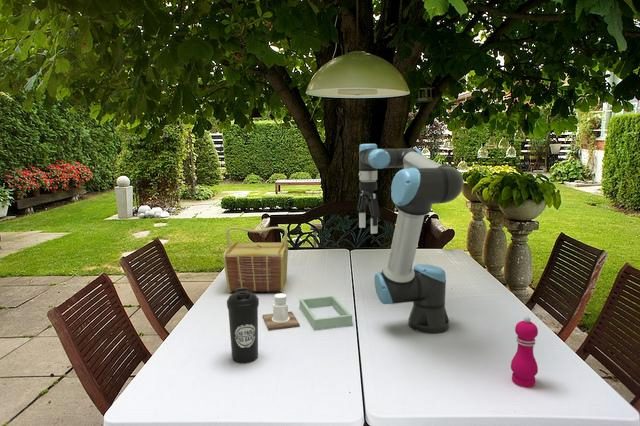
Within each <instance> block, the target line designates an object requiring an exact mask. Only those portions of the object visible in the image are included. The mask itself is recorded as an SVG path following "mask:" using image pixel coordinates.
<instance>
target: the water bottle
mask: <svg viewBox="0 0 640 426" xmlns="http://www.w3.org/2000/svg"><path fill="white" fill-rule="evenodd" d="M259 304H260V303H259V297H258V296H257V295H256V294H255V292H249V291H248V289H247V287H241V288H236V292H233V293H232V294H231V295H229V296H228V298H227V300H226V308H227V310H228V322H229V333H230V334H229V335H230V336H229V337H230V347H231V360H232V361H233V362H235V363H237V364H249V363H252V362H254V361H257V359H258V357H259V318H258V317H259V316H258V315H259V310H258V309H259V306H260V305H259Z"/></svg>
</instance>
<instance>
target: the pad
mask: <svg viewBox="0 0 640 426" xmlns="http://www.w3.org/2000/svg"><path fill="white" fill-rule="evenodd" d="M272 317H273V313H266V314H262V319H263V321H264V323H265V325H266V328H267V330H268V331H277V330H284V329H292V328H299V327H301V326H300V322H299V321H298V319H297V318H296V316H295V314H294V313H293V311H288V317H289V318H290V320H289V321H287V322H284V323H276V322H274V321H272Z"/></svg>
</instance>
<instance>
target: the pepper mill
mask: <svg viewBox="0 0 640 426" xmlns="http://www.w3.org/2000/svg"><path fill="white" fill-rule="evenodd" d="M514 332H515V335H516V337H515V338H516V343H517V349H516V352H515V354H514V356H513V358H512V360H511V362H510V369H511V371H512V375H511V381H512V383H513V384H515V385H516V386H520V387H522V388H531V387H532V388H533V387H534V386H535V385H536V377H535V376H536V375H537V374H538V373H539V367H538V363H537V361H536V358H535V355H534V346H535V345H536V338H537V336H538V334H539V329H538V327H537V325H536V324H535V323H534V322H532V321H531V318H530V316H524V318H523V320H521V321H518V322H517V323H516V324H515V328H514Z"/></svg>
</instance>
